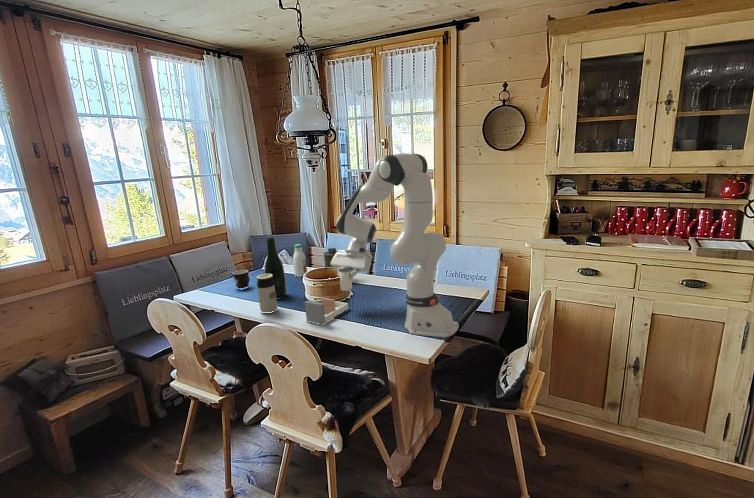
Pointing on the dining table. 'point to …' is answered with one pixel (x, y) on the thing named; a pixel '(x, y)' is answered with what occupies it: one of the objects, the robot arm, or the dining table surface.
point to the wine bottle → (275, 268)
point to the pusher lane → (337, 310)
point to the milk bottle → (299, 261)
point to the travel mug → (266, 293)
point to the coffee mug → (241, 278)
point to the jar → (345, 278)
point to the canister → (329, 256)
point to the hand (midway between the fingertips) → (344, 277)
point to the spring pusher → (328, 305)
